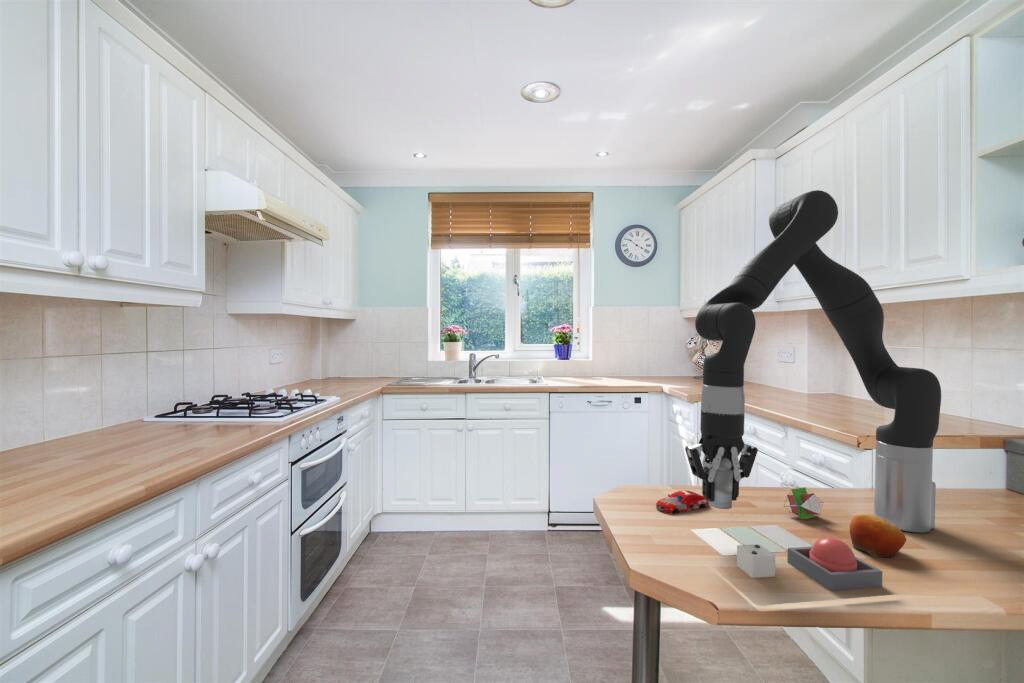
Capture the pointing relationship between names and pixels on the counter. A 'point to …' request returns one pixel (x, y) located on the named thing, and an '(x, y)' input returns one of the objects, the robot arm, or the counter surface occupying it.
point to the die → (756, 560)
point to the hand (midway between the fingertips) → (720, 499)
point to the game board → (749, 538)
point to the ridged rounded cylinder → (723, 485)
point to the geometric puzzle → (804, 503)
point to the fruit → (876, 536)
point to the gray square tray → (835, 580)
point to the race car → (682, 502)
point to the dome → (833, 555)
